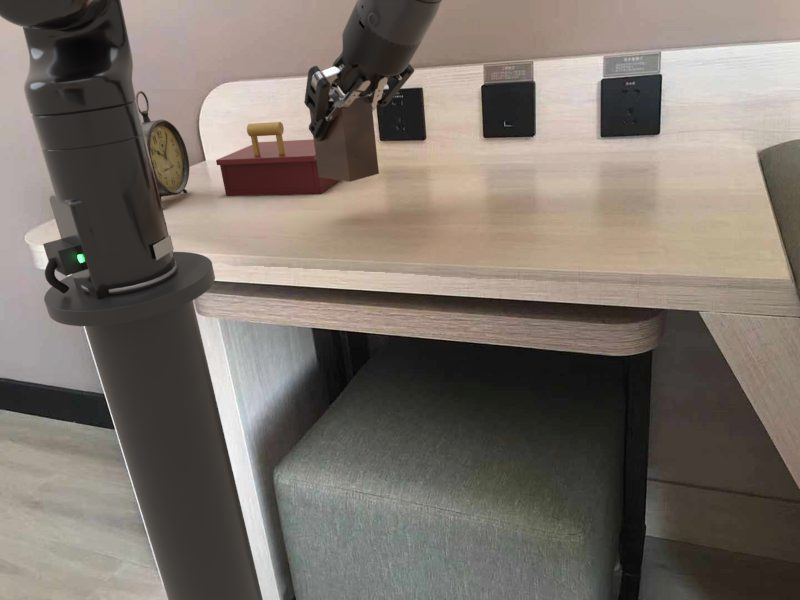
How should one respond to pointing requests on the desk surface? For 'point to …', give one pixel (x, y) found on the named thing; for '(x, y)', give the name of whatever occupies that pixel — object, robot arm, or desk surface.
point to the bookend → (349, 144)
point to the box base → (274, 179)
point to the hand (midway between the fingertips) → (333, 131)
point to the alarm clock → (166, 154)
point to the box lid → (270, 148)
